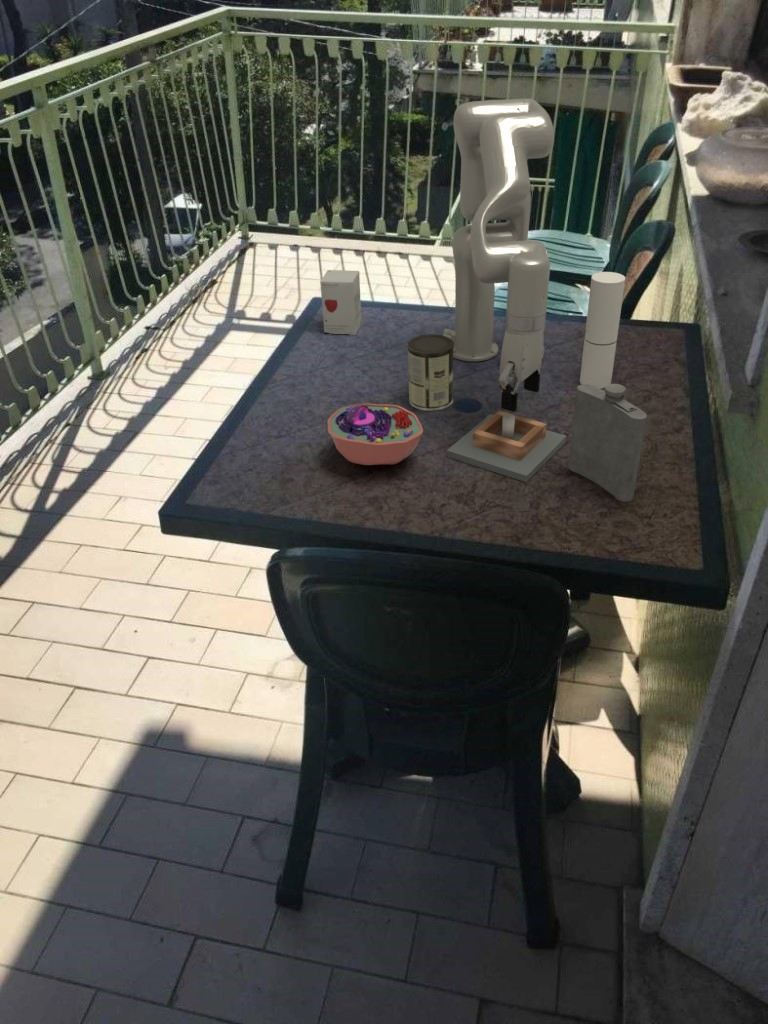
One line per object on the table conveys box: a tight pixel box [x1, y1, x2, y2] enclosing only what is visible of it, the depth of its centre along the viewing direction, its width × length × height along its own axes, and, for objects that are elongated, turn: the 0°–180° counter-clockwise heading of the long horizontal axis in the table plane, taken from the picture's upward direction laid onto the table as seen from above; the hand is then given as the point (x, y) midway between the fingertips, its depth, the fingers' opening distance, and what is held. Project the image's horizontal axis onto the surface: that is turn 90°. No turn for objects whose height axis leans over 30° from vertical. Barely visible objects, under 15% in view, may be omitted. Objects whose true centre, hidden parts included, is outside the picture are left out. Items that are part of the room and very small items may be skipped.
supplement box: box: [320, 269, 362, 336], centre depth 218 cm, size 9×9×15 cm
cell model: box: [326, 403, 424, 466], centre depth 163 cm, size 17×20×11 cm
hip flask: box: [567, 383, 648, 503], centre depth 151 cm, size 16×4×20 cm, turn 33°
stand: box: [446, 413, 567, 483], centre depth 165 cm, size 18×18×8 cm
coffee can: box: [406, 334, 454, 412], centre depth 182 cm, size 10×10×14 cm
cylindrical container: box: [579, 271, 626, 389], centre depth 184 cm, size 7×7×25 cm
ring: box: [473, 410, 548, 460], centre depth 167 cm, size 11×11×3 cm
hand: (520, 399), depth 165 cm, fingers open, 9 cm apart
